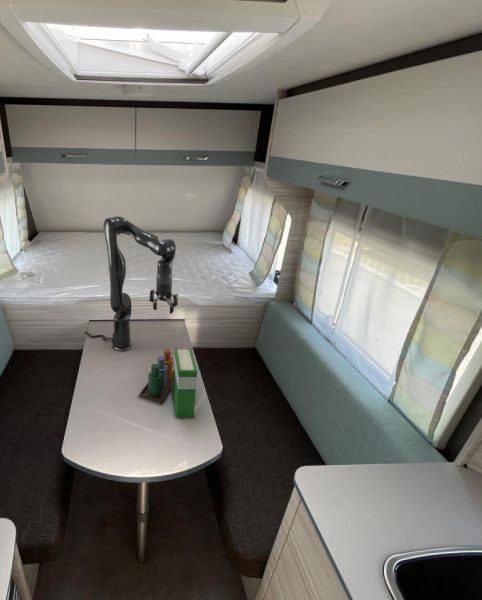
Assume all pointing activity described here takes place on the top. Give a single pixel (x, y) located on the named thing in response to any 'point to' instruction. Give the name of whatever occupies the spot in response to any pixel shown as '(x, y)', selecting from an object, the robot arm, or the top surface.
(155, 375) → the green bottle
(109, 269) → the robot arm
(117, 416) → the top surface
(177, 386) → the hardback book
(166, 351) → the amber bottle
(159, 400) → the tray
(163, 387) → the slate bottle
